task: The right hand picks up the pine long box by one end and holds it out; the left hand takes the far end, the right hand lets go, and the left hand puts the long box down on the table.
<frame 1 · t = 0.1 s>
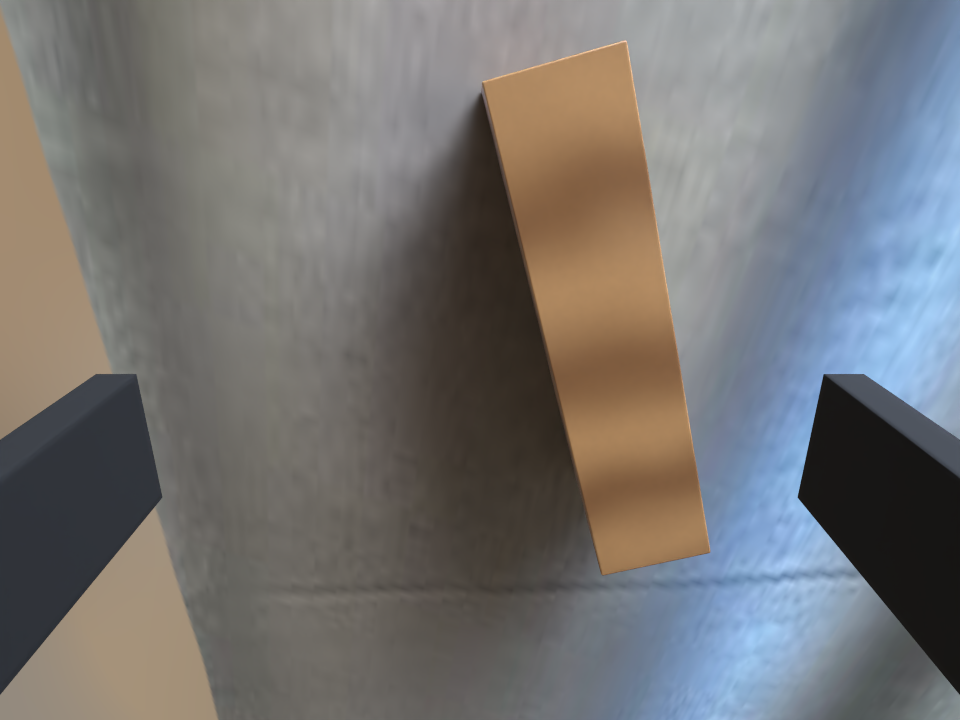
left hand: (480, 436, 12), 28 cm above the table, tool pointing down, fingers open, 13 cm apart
long box: (579, 291, 40), on the table
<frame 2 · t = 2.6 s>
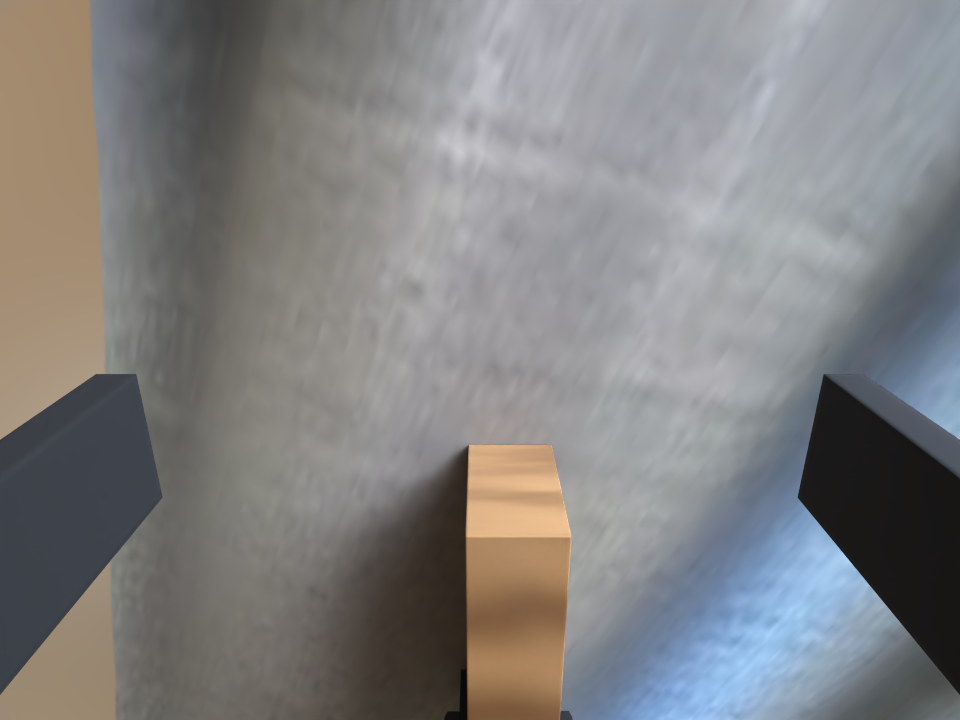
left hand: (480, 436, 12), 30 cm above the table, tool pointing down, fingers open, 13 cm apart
long box: (507, 587, 51), on the table, touching right hand
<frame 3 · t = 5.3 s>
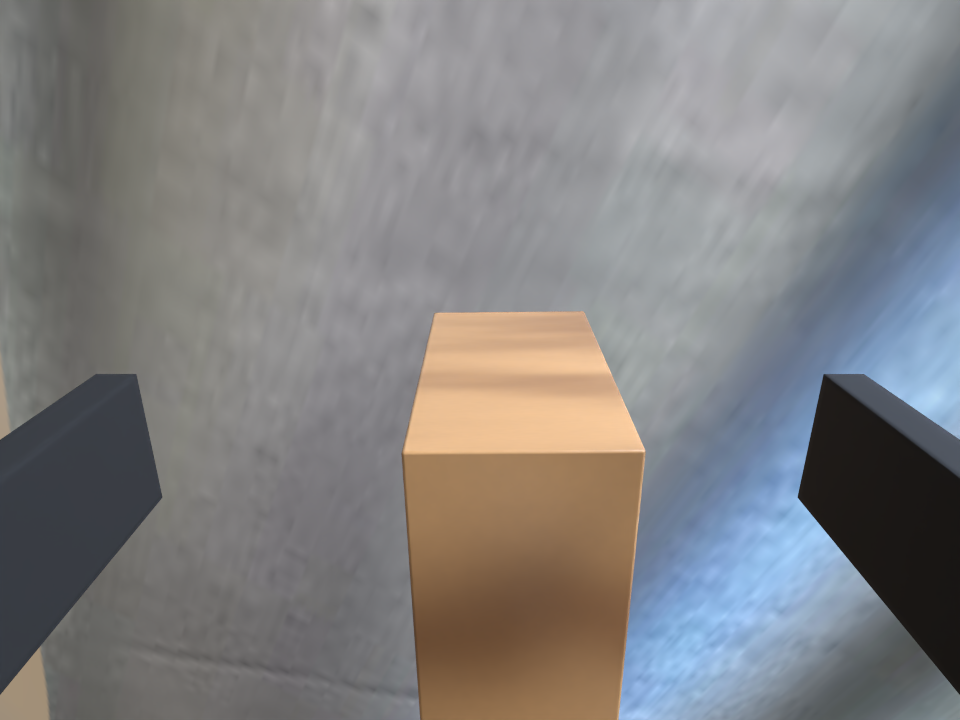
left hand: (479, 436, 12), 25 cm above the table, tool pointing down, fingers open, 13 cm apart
long box: (507, 568, 30), point 11 cm above the table, touching right hand
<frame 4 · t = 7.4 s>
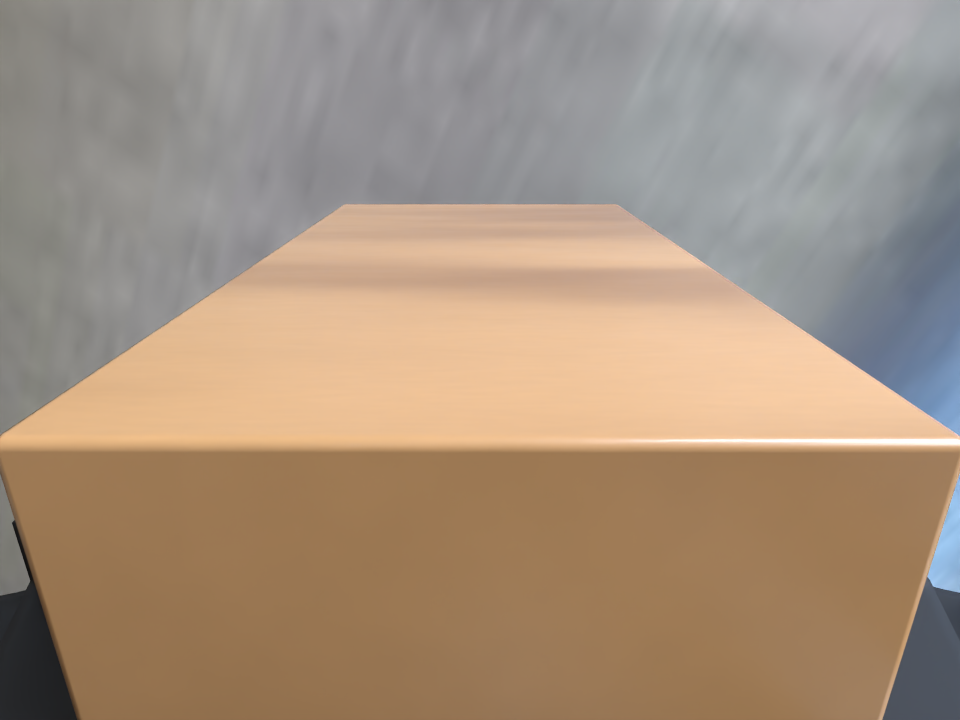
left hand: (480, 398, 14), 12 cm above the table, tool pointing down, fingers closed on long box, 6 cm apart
long box: (480, 658, 18), point 11 cm above the table, touching left hand, right hand
when the right hand's fingers open (12 cm above the table, at t = 8.3 s): long box stays where it is, held by the left hand.
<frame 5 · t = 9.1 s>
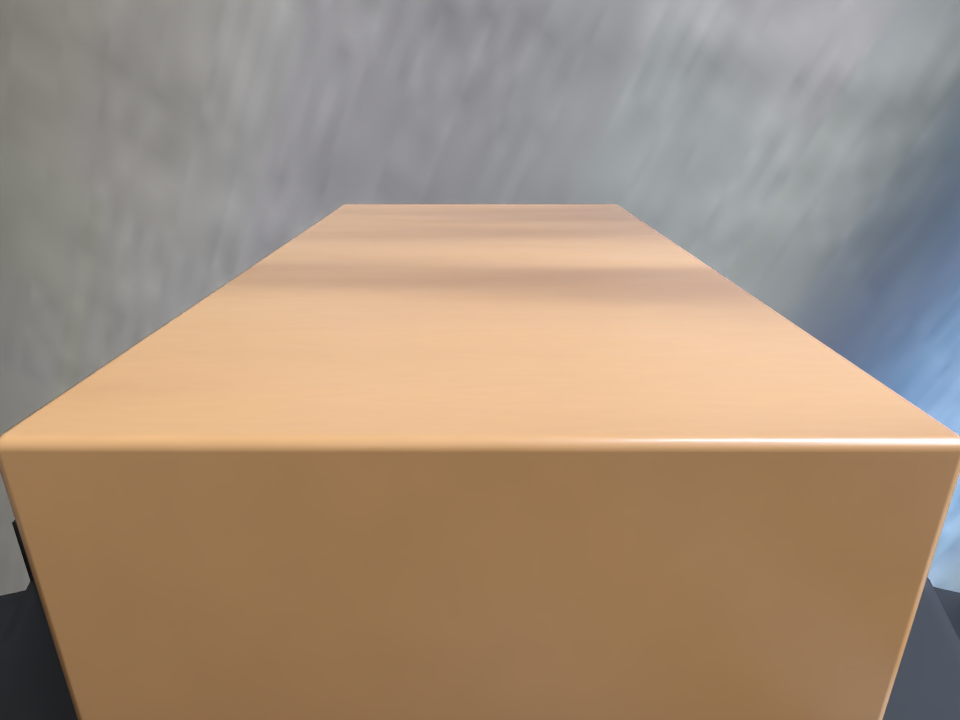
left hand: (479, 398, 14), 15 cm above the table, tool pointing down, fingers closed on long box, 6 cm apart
long box: (480, 657, 18), point 14 cm above the table, touching left hand
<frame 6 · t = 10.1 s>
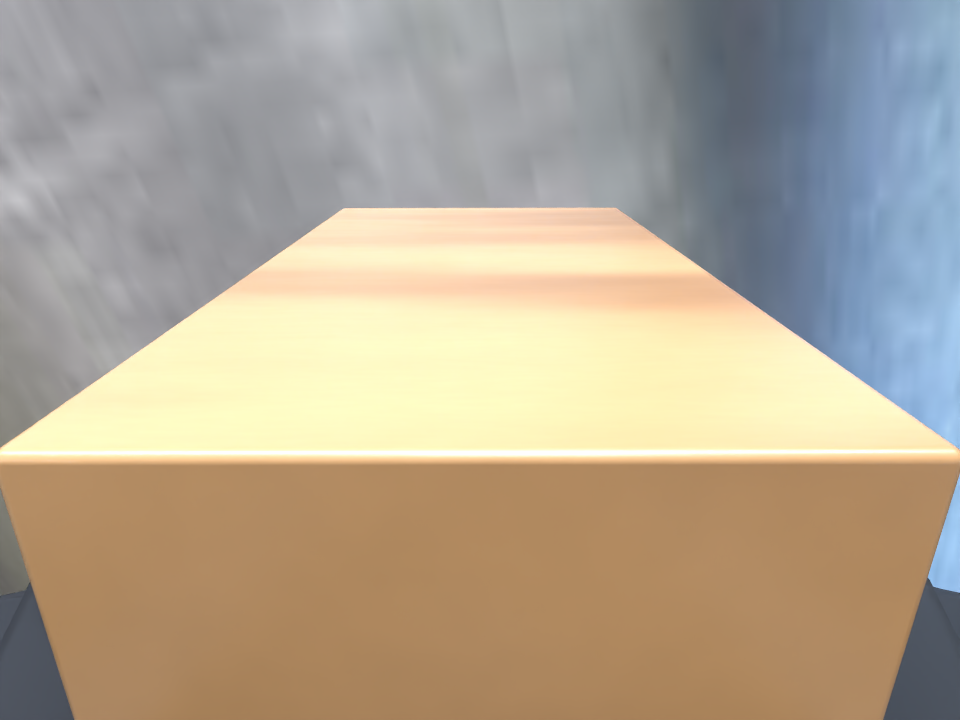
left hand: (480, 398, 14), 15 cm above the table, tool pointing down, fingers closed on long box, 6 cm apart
long box: (480, 660, 18), point 14 cm above the table, touching left hand
when the left hand's fingers open (3 cm above the table, at t = 12.8 s): long box drops 2 cm, on the table.
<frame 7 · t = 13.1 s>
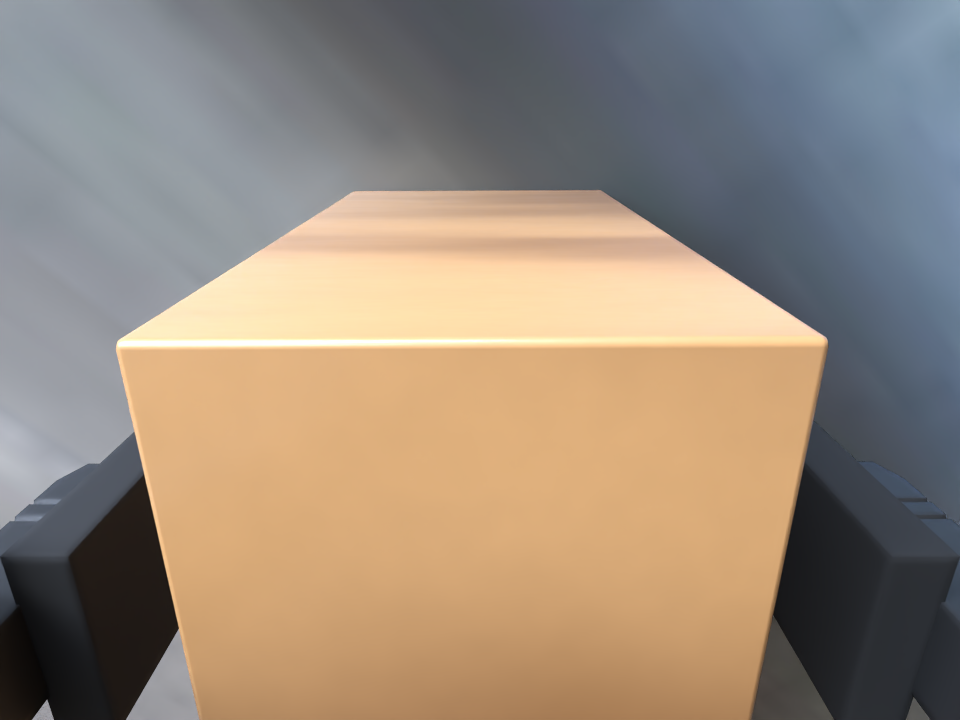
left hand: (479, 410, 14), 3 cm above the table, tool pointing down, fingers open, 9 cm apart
long box: (479, 614, 20), on the table
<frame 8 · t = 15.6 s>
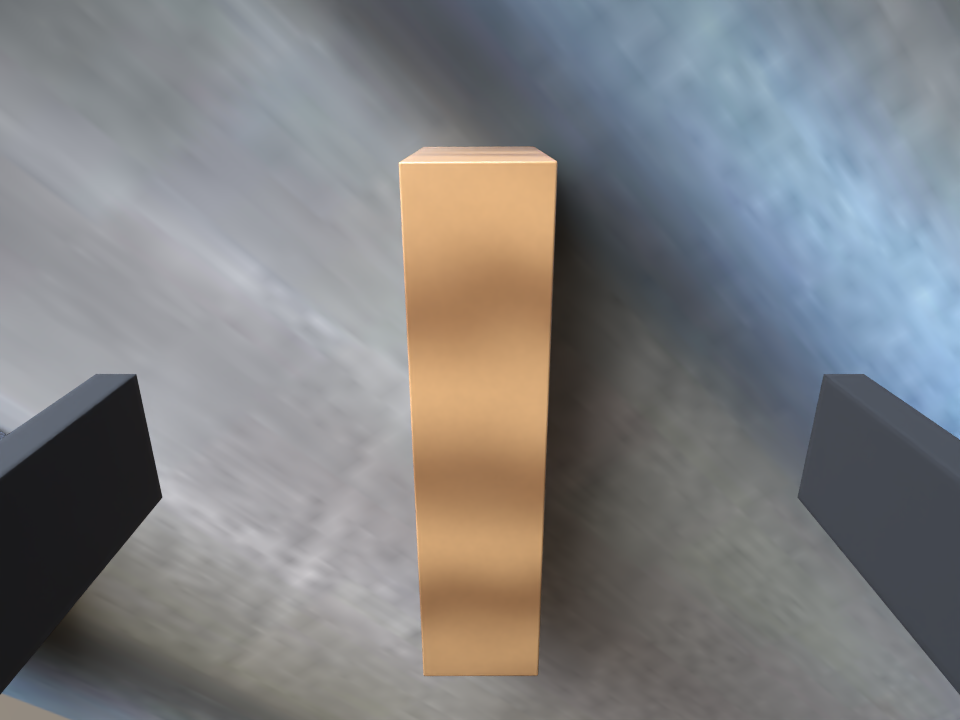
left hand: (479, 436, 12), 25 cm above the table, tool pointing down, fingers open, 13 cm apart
long box: (479, 370, 39), on the table
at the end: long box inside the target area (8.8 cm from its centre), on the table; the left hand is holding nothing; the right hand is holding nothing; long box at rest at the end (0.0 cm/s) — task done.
